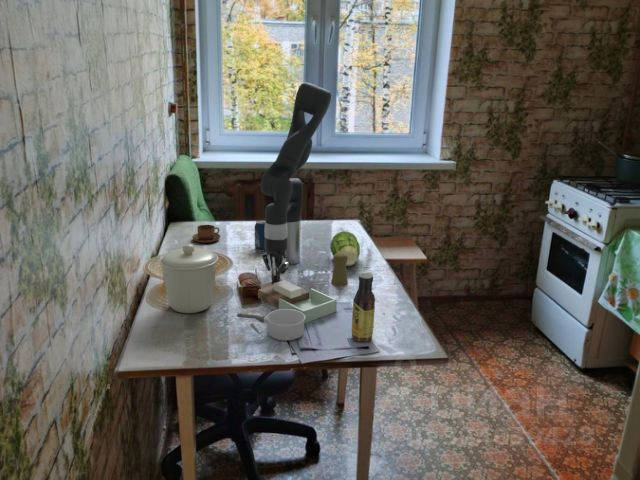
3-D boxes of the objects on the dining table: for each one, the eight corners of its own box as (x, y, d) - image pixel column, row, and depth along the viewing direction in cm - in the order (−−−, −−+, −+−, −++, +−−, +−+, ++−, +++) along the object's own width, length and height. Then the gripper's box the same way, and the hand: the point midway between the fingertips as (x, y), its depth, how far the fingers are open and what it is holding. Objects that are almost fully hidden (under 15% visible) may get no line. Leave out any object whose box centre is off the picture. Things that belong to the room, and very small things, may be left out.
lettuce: (333, 273, 216) (334, 244, 213) (328, 255, 236) (329, 228, 232) (363, 273, 217) (365, 244, 214) (356, 255, 237) (357, 229, 233)
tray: (278, 310, 183) (278, 298, 182) (311, 299, 192) (311, 288, 191) (303, 323, 174) (303, 311, 173) (336, 311, 184) (336, 299, 182)
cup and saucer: (206, 234, 258) (206, 221, 256) (226, 240, 251) (225, 226, 249) (186, 240, 249) (186, 227, 247) (205, 246, 242) (205, 232, 240)
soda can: (273, 247, 243) (273, 220, 240) (268, 252, 237) (269, 224, 233) (257, 245, 244) (257, 218, 241) (252, 251, 238) (252, 223, 234)
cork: (346, 286, 204) (347, 257, 200) (329, 284, 205) (330, 256, 201) (349, 280, 209) (350, 252, 206) (332, 278, 210) (333, 250, 207)
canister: (157, 299, 188) (154, 238, 182) (212, 292, 195) (210, 233, 189) (166, 322, 172) (163, 256, 166) (225, 314, 179) (224, 250, 173)
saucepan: (241, 322, 174) (241, 306, 172) (307, 326, 173) (307, 309, 171) (233, 340, 163) (233, 322, 162) (303, 344, 162) (303, 326, 160)
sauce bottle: (349, 333, 169) (352, 270, 163) (370, 333, 170) (374, 270, 164) (352, 343, 163) (356, 279, 157) (374, 343, 164) (378, 278, 158)
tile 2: (282, 294, 188) (282, 287, 187) (292, 291, 191) (292, 284, 190) (290, 298, 185) (291, 291, 184) (301, 295, 188) (301, 288, 187)
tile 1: (273, 290, 191) (273, 283, 190) (284, 286, 194) (284, 280, 193) (282, 294, 188) (282, 287, 187) (292, 290, 191) (292, 284, 190)
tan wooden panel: (253, 295, 194) (253, 287, 193) (281, 286, 202) (281, 279, 201) (281, 309, 183) (281, 301, 183) (309, 300, 191) (309, 292, 190)
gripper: (254, 232, 190) (255, 281, 195) (279, 242, 181) (279, 293, 186) (272, 228, 195) (272, 276, 200) (297, 238, 186) (296, 287, 191)
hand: (275, 284), depth 193 cm, fingers closed
